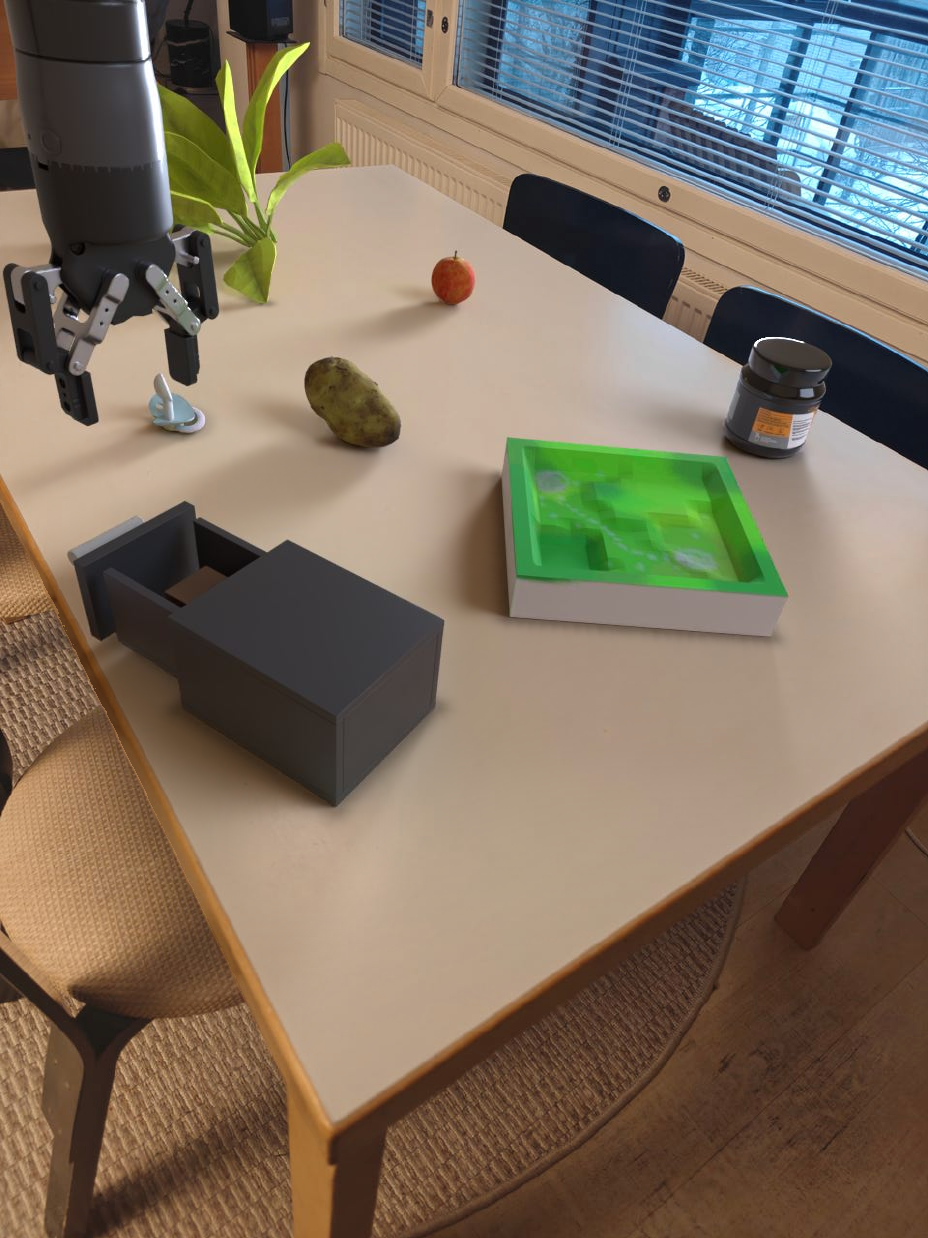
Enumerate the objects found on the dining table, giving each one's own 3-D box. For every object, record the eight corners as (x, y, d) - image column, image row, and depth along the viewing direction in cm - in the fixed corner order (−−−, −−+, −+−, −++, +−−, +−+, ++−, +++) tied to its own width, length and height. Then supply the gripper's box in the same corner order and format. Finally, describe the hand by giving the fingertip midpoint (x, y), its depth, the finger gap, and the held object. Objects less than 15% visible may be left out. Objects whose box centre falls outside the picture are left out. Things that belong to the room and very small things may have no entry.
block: (210, 657, 70) (205, 614, 67) (170, 633, 71) (163, 591, 68) (249, 628, 73) (246, 586, 70) (210, 606, 74) (205, 565, 71)
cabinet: (182, 708, 68) (167, 616, 62) (291, 627, 76) (287, 538, 70) (336, 807, 62) (336, 717, 56) (435, 707, 70) (445, 619, 64)
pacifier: (199, 407, 105) (147, 411, 102) (196, 358, 101) (142, 361, 98) (210, 437, 100) (156, 441, 97) (207, 386, 96) (150, 389, 93)
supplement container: (804, 468, 108) (841, 378, 100) (720, 451, 109) (750, 361, 101) (799, 430, 115) (832, 344, 108) (720, 414, 117) (748, 328, 109)
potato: (345, 465, 98) (345, 400, 92) (295, 415, 105) (293, 352, 100) (407, 450, 101) (411, 387, 96) (355, 403, 109) (356, 342, 104)
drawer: (56, 613, 73) (35, 538, 68) (161, 552, 81) (149, 481, 76) (217, 715, 66) (207, 641, 61) (315, 639, 74) (313, 567, 69)
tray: (713, 494, 101) (725, 456, 97) (770, 636, 82) (788, 596, 78) (501, 475, 99) (507, 437, 96) (509, 616, 80) (517, 574, 77)
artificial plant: (153, 250, 160) (25, 103, 135) (347, 116, 154) (250, -63, 129) (196, 389, 138) (51, 244, 113) (425, 239, 132) (326, 50, 107)
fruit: (466, 313, 135) (472, 261, 130) (424, 305, 136) (428, 253, 131) (477, 299, 140) (483, 248, 135) (436, 291, 141) (440, 240, 136)
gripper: (151, 117, 56) (178, 355, 66) (-60, 143, 47) (10, 416, 57) (234, 143, 53) (249, 387, 64) (28, 176, 44) (84, 456, 54)
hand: (136, 400), depth 60 cm, fingers open, 8 cm apart
